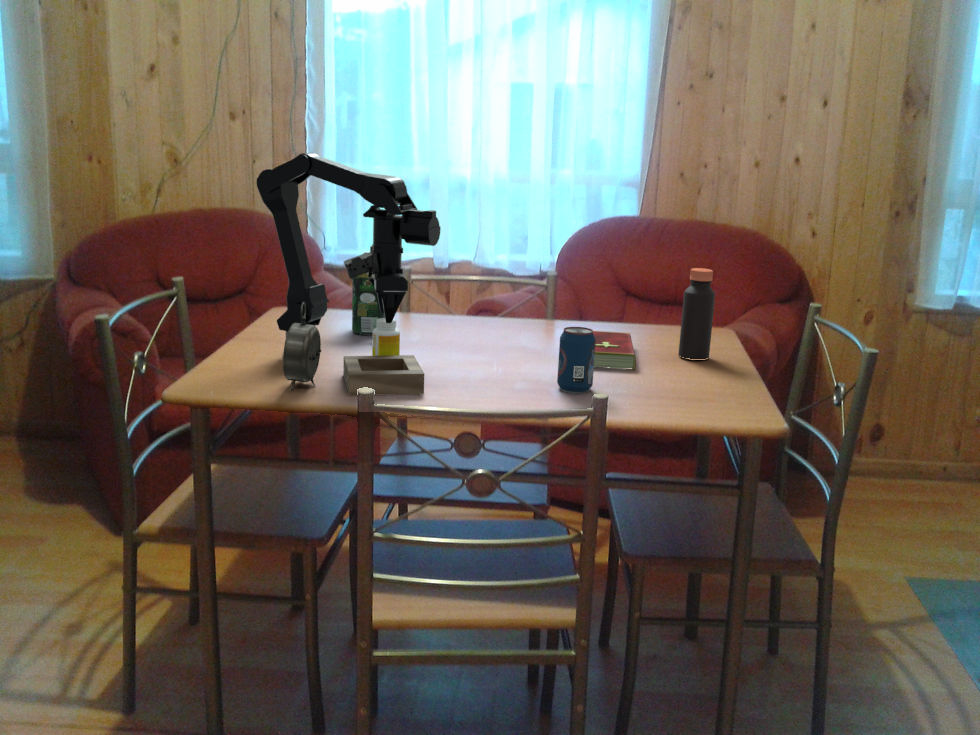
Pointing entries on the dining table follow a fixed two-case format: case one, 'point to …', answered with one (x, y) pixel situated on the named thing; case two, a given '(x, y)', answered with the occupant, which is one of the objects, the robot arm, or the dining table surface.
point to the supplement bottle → (385, 339)
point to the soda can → (576, 360)
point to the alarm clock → (301, 352)
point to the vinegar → (697, 315)
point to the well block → (384, 374)
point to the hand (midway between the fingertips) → (385, 318)
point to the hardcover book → (613, 350)
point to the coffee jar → (364, 305)
